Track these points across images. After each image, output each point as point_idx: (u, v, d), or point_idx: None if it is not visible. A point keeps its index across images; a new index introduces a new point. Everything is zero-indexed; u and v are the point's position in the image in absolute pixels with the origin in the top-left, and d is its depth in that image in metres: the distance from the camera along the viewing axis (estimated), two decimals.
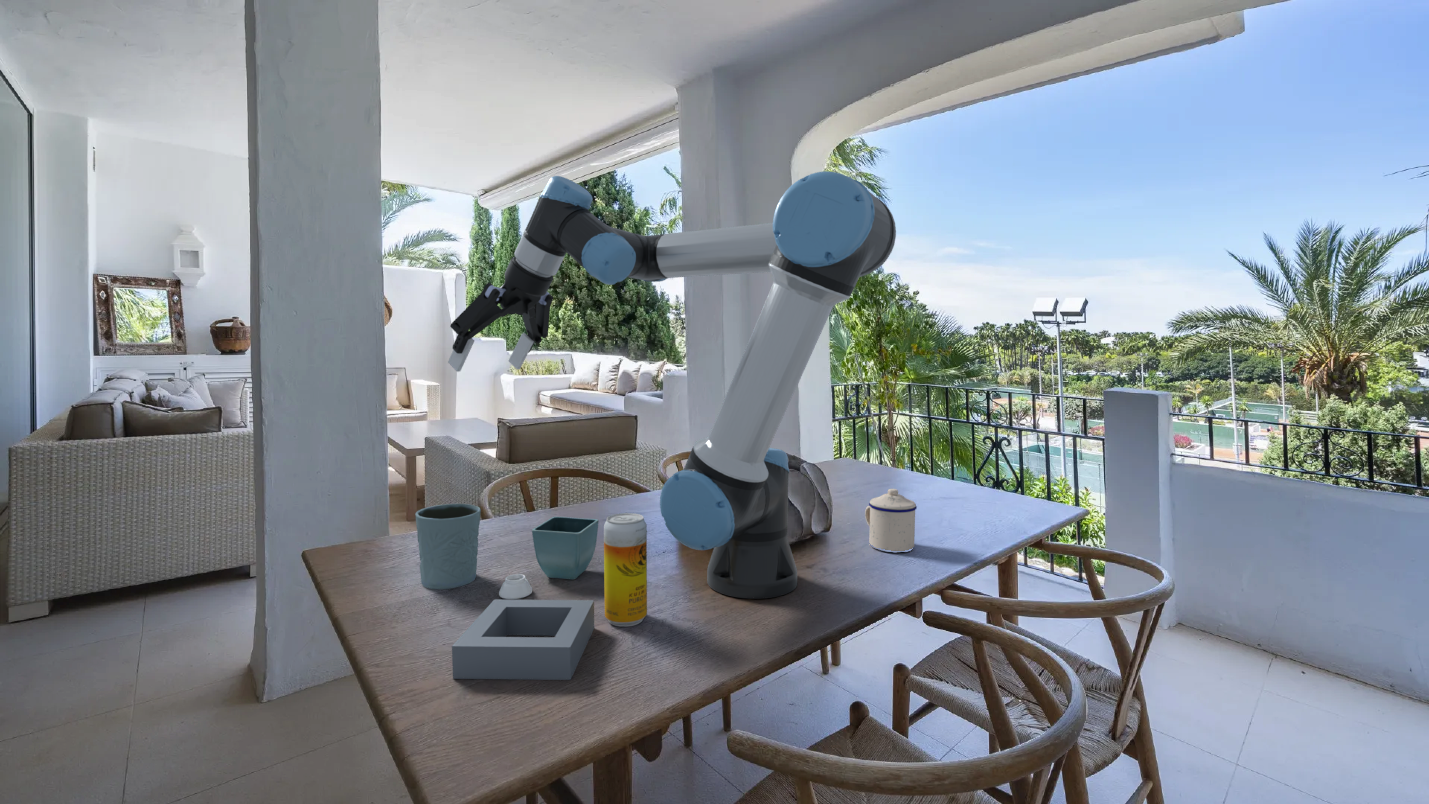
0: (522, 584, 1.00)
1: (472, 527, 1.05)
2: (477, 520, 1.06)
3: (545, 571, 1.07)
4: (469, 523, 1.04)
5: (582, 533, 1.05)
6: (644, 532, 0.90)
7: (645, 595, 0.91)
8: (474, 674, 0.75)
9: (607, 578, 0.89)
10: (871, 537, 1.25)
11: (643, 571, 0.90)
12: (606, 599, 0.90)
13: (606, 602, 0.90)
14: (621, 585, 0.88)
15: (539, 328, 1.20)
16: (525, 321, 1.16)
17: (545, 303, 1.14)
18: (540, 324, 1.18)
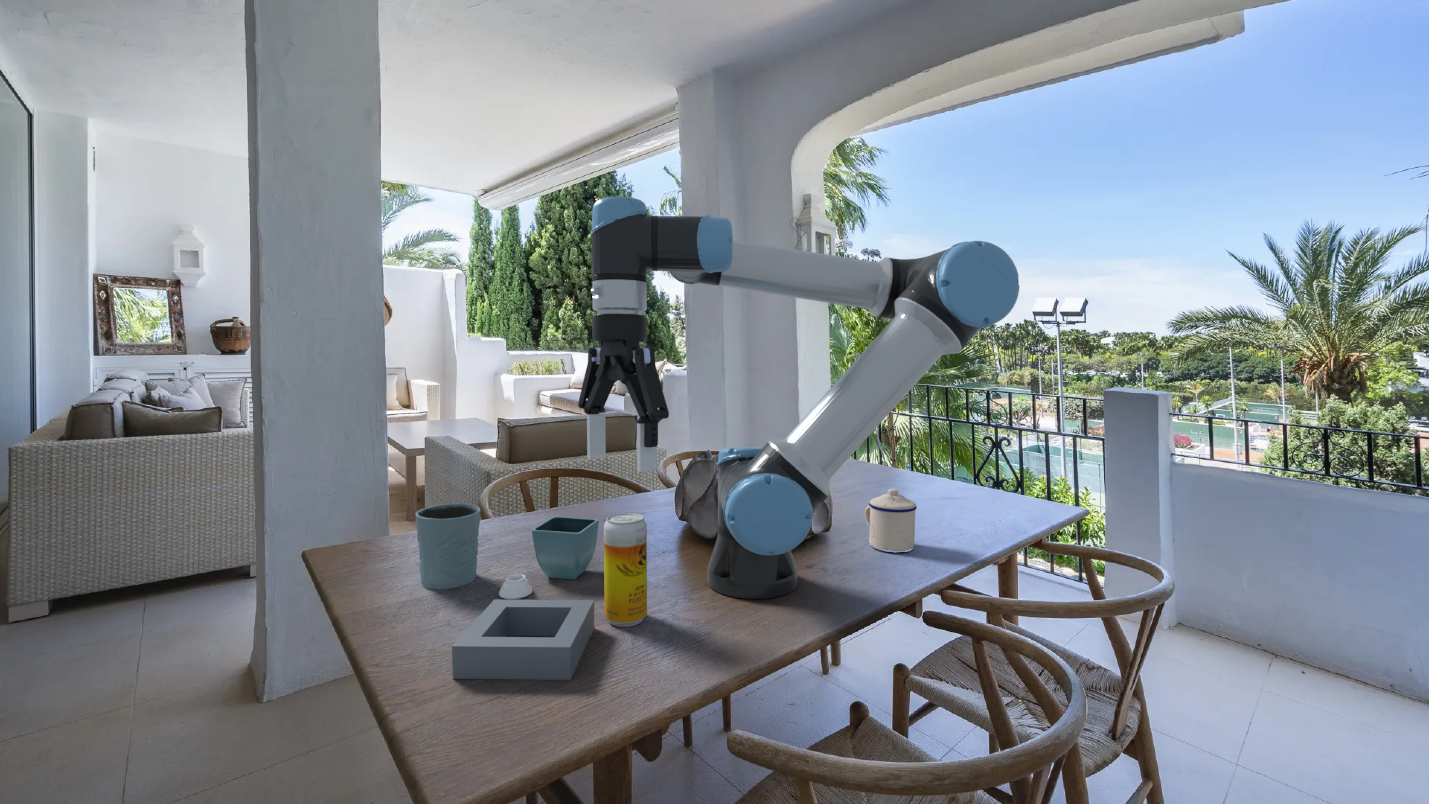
0: (522, 584, 1.00)
1: (472, 527, 1.05)
2: (478, 520, 1.06)
3: (545, 571, 1.07)
4: (469, 523, 1.04)
5: (582, 533, 1.05)
6: (644, 532, 0.90)
7: (645, 595, 0.91)
8: (474, 674, 0.75)
9: (607, 578, 0.89)
10: (871, 537, 1.25)
11: (643, 571, 0.90)
12: (606, 599, 0.90)
13: (606, 602, 0.90)
14: (621, 585, 0.88)
15: (585, 401, 0.96)
16: (599, 393, 0.93)
17: None
18: None
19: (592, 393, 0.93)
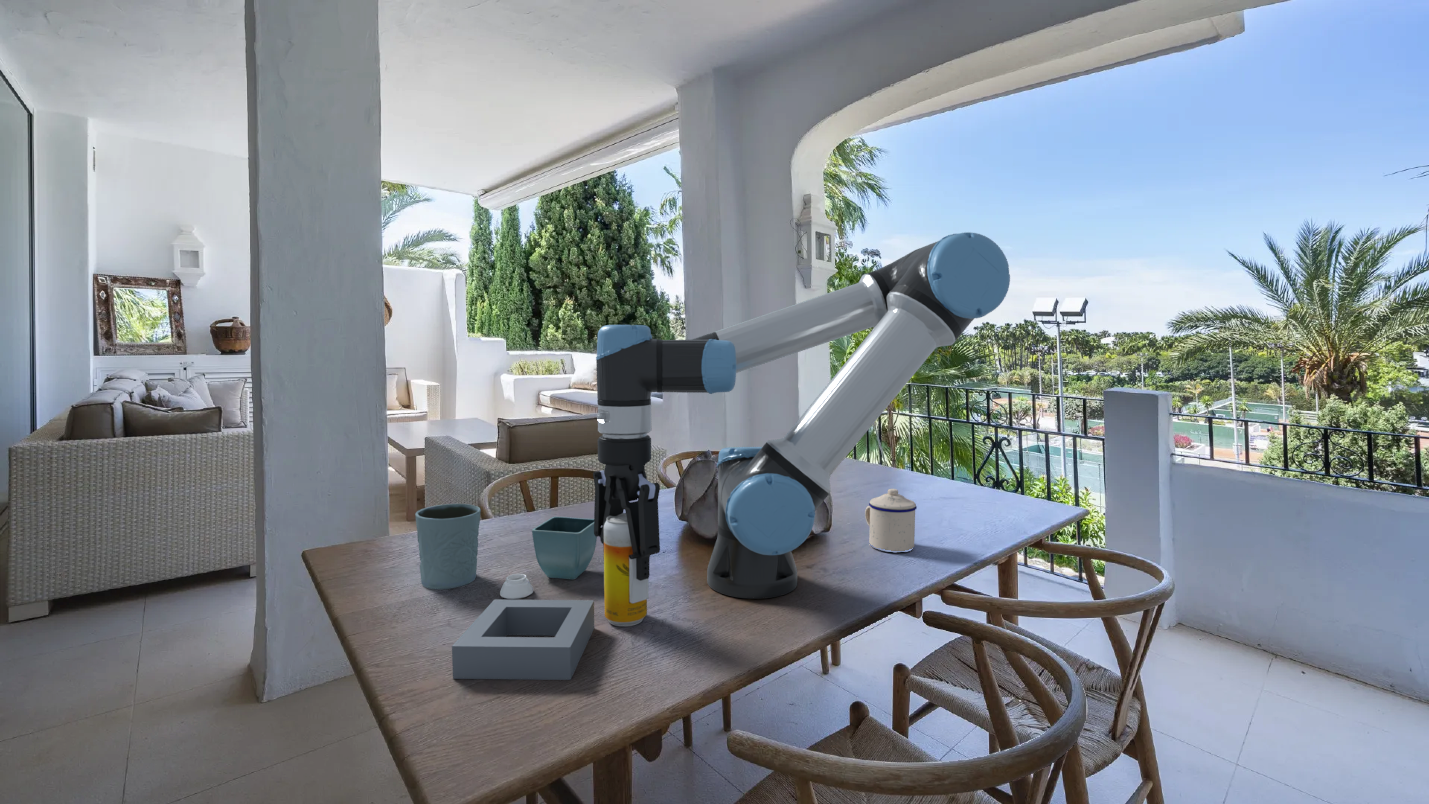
0: (523, 584, 1.00)
1: (472, 527, 1.05)
2: (477, 520, 1.06)
3: (545, 571, 1.07)
4: (469, 523, 1.04)
5: (582, 533, 1.05)
6: None
7: None
8: (474, 674, 0.75)
9: (607, 578, 0.89)
10: (871, 537, 1.25)
11: None
12: (606, 599, 0.90)
13: (606, 602, 0.90)
14: (621, 585, 0.88)
15: (601, 528, 0.95)
16: None
17: None
18: None
19: (605, 520, 0.92)
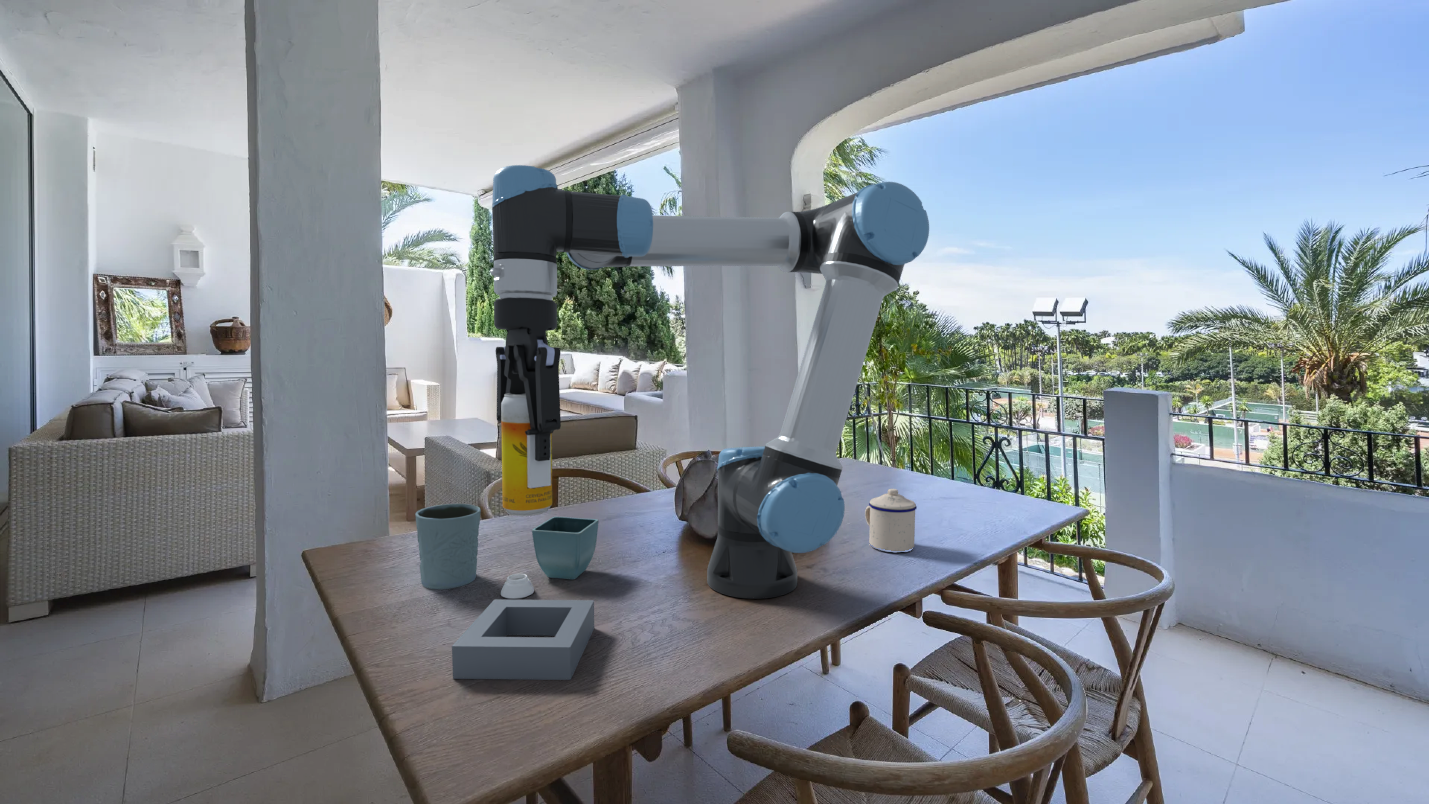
0: (524, 584, 1.00)
1: (472, 527, 1.05)
2: (478, 520, 1.06)
3: (545, 571, 1.07)
4: (469, 523, 1.04)
5: (582, 533, 1.05)
6: None
7: None
8: (474, 674, 0.75)
9: (504, 461, 0.78)
10: (871, 537, 1.25)
11: None
12: (503, 485, 0.79)
13: (503, 489, 0.79)
14: (518, 468, 0.77)
15: None
16: None
17: None
18: None
19: None
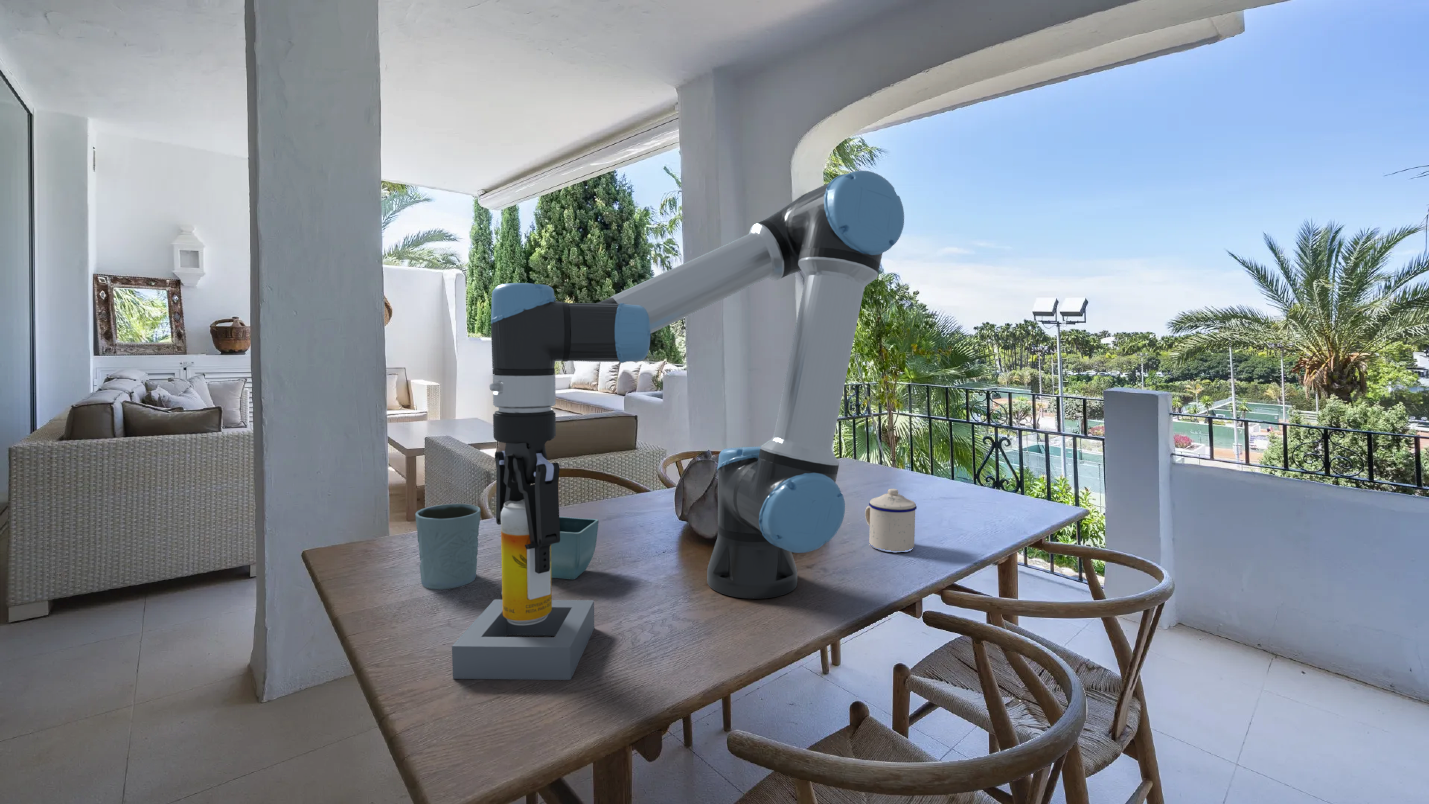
0: None
1: (472, 527, 1.05)
2: (478, 520, 1.06)
3: None
4: (469, 523, 1.04)
5: (582, 533, 1.05)
6: None
7: None
8: (474, 674, 0.75)
9: (503, 571, 0.79)
10: (871, 537, 1.25)
11: None
12: (503, 594, 0.79)
13: (503, 598, 0.79)
14: (517, 579, 0.78)
15: None
16: None
17: None
18: None
19: None
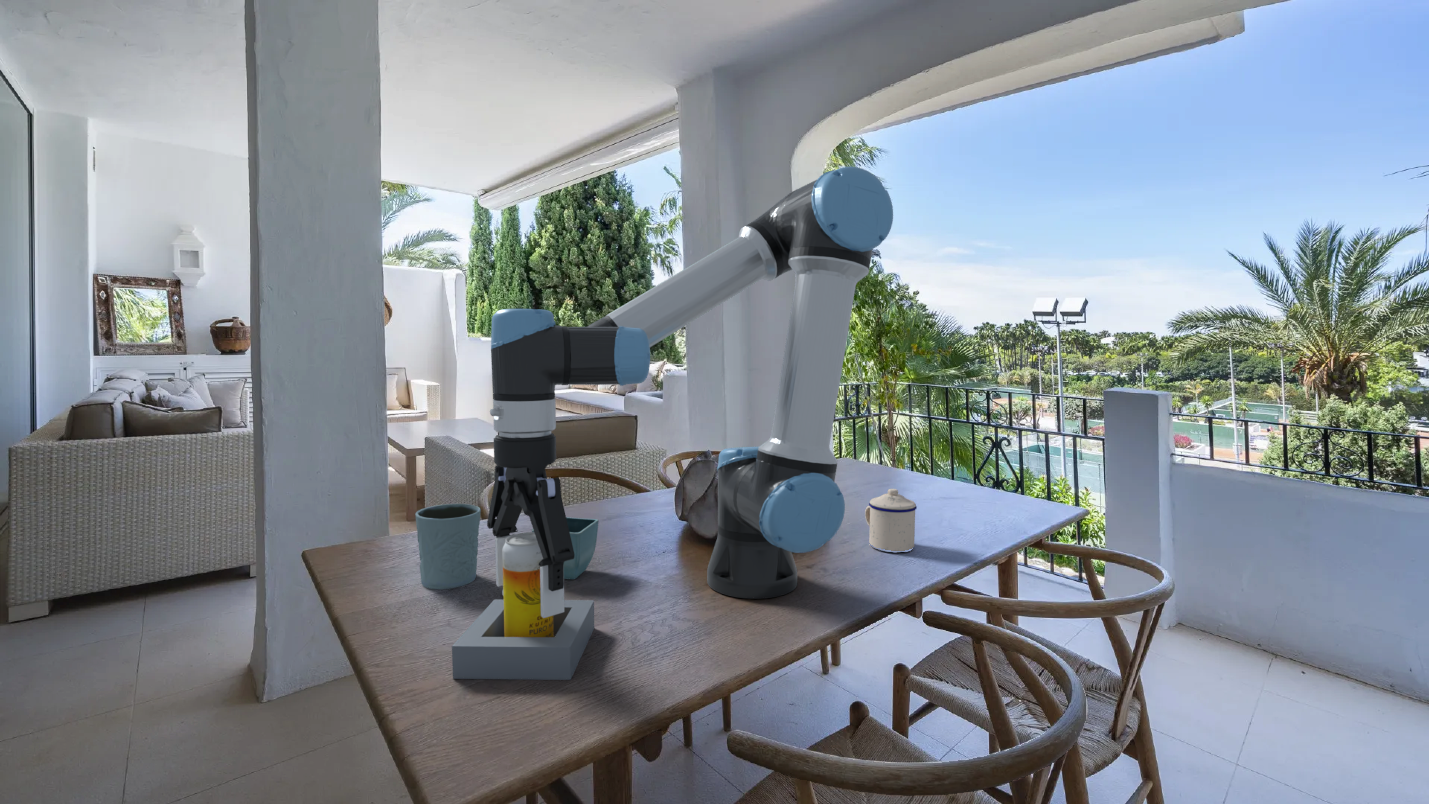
0: None
1: (472, 527, 1.05)
2: (477, 520, 1.06)
3: None
4: (469, 523, 1.04)
5: (582, 533, 1.05)
6: None
7: (550, 625, 0.81)
8: (474, 674, 0.75)
9: (505, 606, 0.79)
10: (871, 537, 1.25)
11: None
12: (505, 630, 0.80)
13: (505, 633, 0.80)
14: (520, 615, 0.78)
15: (495, 520, 0.87)
16: (507, 516, 0.84)
17: None
18: None
19: (499, 516, 0.84)
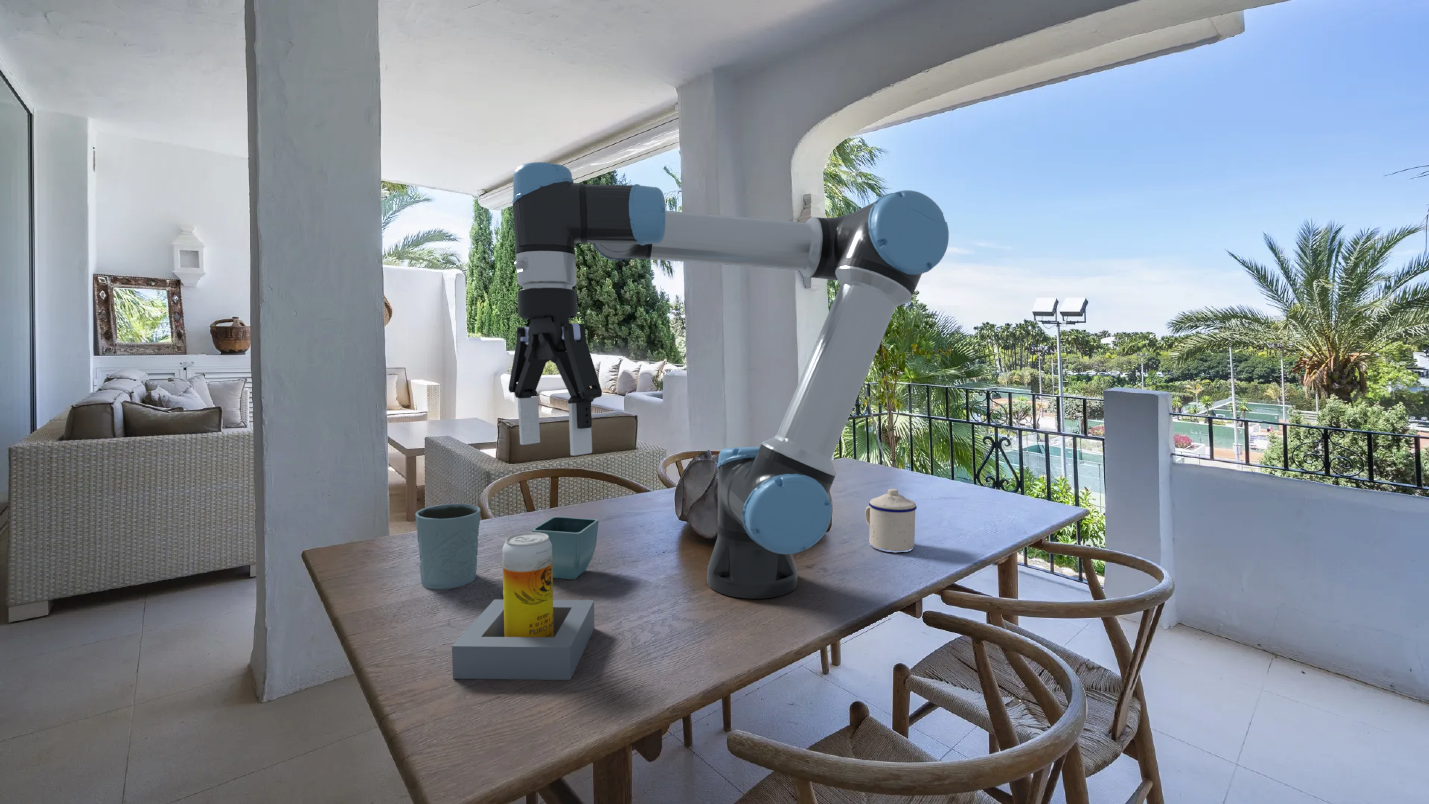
0: None
1: (472, 527, 1.05)
2: (477, 520, 1.06)
3: None
4: (469, 523, 1.04)
5: (582, 533, 1.05)
6: (548, 554, 0.80)
7: (550, 625, 0.81)
8: (474, 674, 0.75)
9: (505, 606, 0.79)
10: (871, 537, 1.25)
11: (546, 598, 0.80)
12: (505, 630, 0.80)
13: (505, 633, 0.80)
14: (520, 615, 0.78)
15: (516, 384, 0.90)
16: (530, 375, 0.87)
17: None
18: None
19: (522, 375, 0.87)
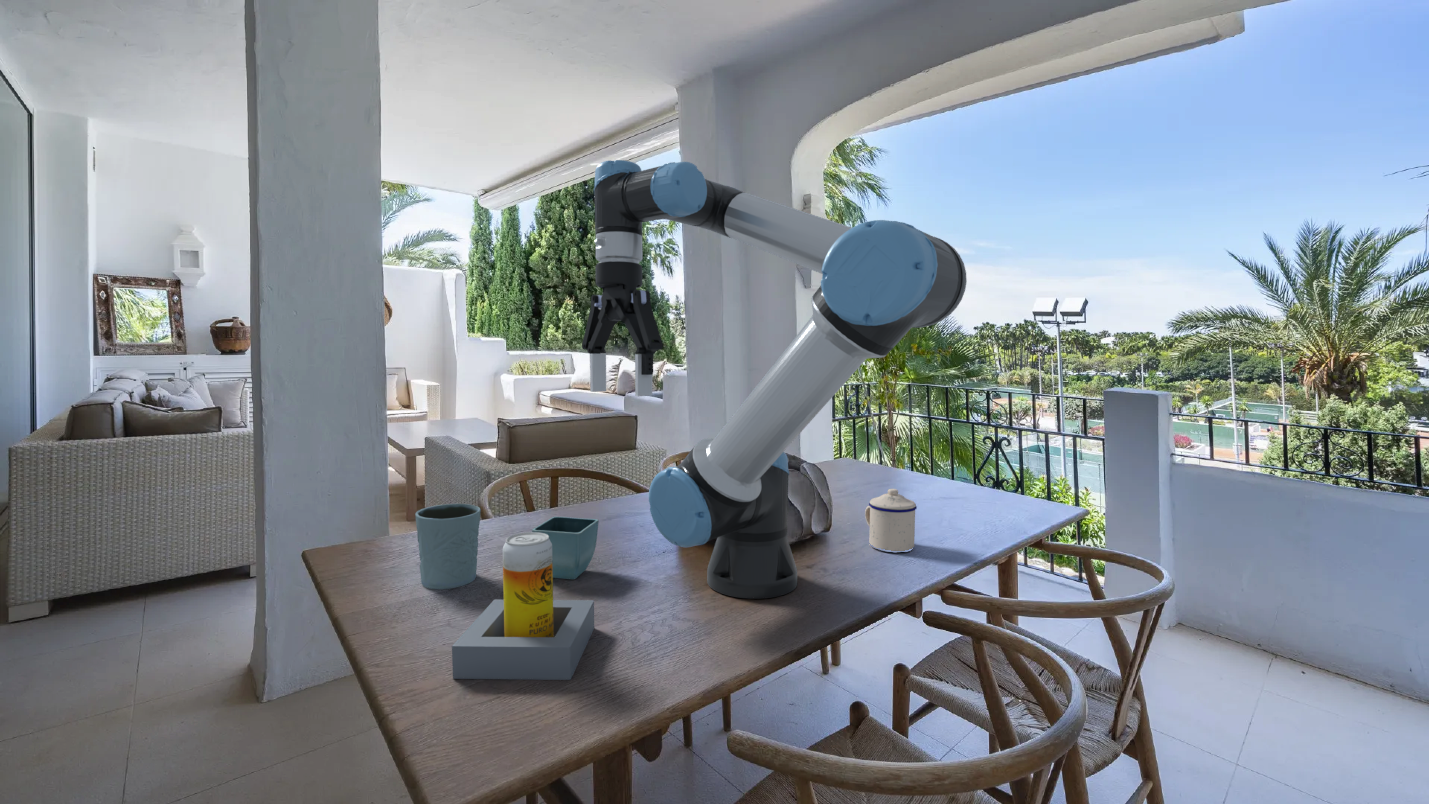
0: None
1: (472, 527, 1.05)
2: (477, 520, 1.06)
3: None
4: (469, 523, 1.04)
5: (582, 533, 1.05)
6: (548, 554, 0.80)
7: (550, 625, 0.81)
8: (474, 674, 0.75)
9: (506, 606, 0.79)
10: (871, 537, 1.25)
11: (546, 598, 0.80)
12: (505, 630, 0.80)
13: (505, 633, 0.80)
14: (520, 615, 0.78)
15: (588, 343, 1.10)
16: (601, 334, 1.06)
17: None
18: None
19: (595, 334, 1.07)
